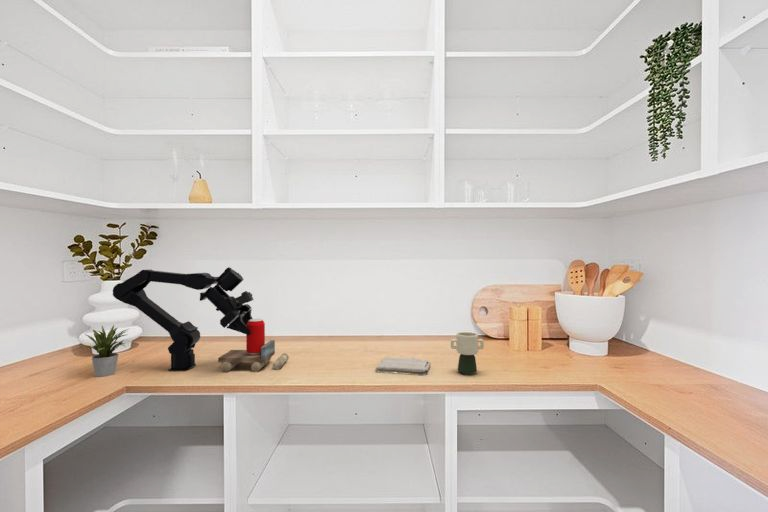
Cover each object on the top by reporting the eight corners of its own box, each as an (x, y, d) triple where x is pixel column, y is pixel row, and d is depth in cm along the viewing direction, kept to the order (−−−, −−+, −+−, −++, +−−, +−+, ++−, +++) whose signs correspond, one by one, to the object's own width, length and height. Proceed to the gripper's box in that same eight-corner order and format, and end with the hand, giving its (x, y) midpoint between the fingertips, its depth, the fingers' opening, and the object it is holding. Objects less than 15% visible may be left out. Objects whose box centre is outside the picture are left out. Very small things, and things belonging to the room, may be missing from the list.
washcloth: (427, 377, 120) (427, 367, 120) (374, 374, 124) (374, 364, 124) (431, 367, 132) (431, 358, 132) (382, 364, 135) (381, 355, 135)
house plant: (129, 377, 119) (130, 326, 119) (74, 384, 112) (74, 331, 112) (134, 366, 131) (134, 320, 131) (84, 372, 124) (85, 323, 125)
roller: (272, 369, 127) (272, 360, 127) (280, 361, 137) (280, 353, 137) (281, 369, 127) (281, 360, 127) (288, 361, 137) (288, 353, 137)
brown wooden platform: (216, 372, 124) (217, 348, 125) (232, 361, 137) (232, 339, 138) (264, 371, 125) (264, 348, 125) (275, 361, 138) (275, 339, 138)
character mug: (481, 369, 126) (481, 331, 126) (486, 376, 119) (486, 336, 119) (449, 369, 127) (449, 331, 127) (452, 376, 120) (452, 335, 120)
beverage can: (256, 350, 135) (256, 317, 135) (268, 352, 132) (268, 319, 132) (242, 354, 130) (242, 320, 130) (254, 356, 127) (254, 321, 127)
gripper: (230, 286, 121) (264, 319, 122) (246, 282, 140) (275, 311, 141) (205, 310, 121) (239, 343, 122) (224, 303, 139) (254, 332, 140)
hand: (253, 331), depth 131 cm, fingers open, 9 cm apart
